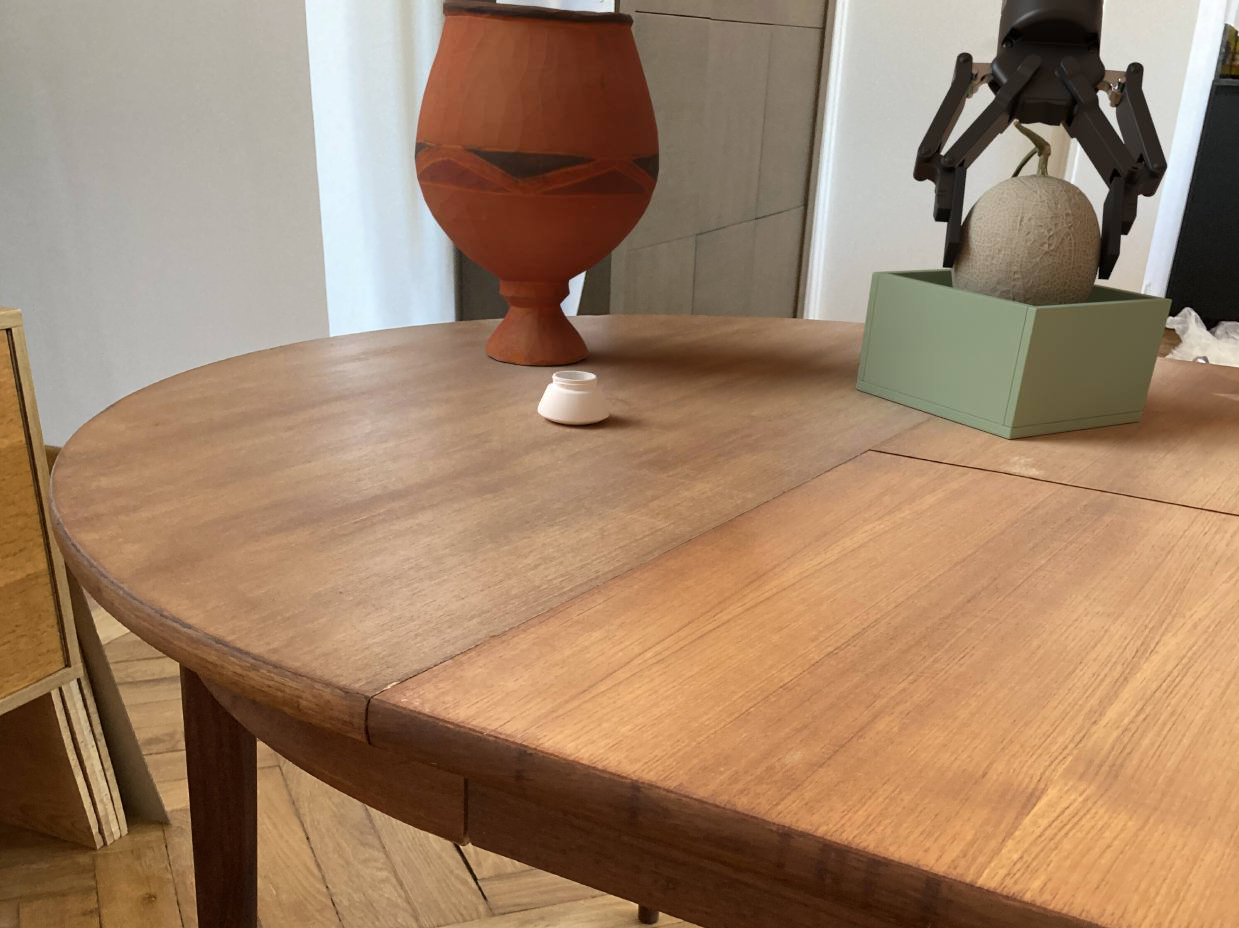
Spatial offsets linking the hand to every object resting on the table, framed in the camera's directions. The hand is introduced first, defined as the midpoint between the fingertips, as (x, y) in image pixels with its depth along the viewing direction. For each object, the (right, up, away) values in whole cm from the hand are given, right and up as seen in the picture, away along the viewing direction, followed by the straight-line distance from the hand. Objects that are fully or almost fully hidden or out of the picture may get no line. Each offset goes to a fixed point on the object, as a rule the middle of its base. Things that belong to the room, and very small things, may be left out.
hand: (1029, 261), depth 91 cm
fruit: (0, -4, +6) cm, 7 cm away
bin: (0, -8, +8) cm, 11 cm away
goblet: (-37, -1, +16) cm, 40 cm away
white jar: (-33, -12, -2) cm, 35 cm away
